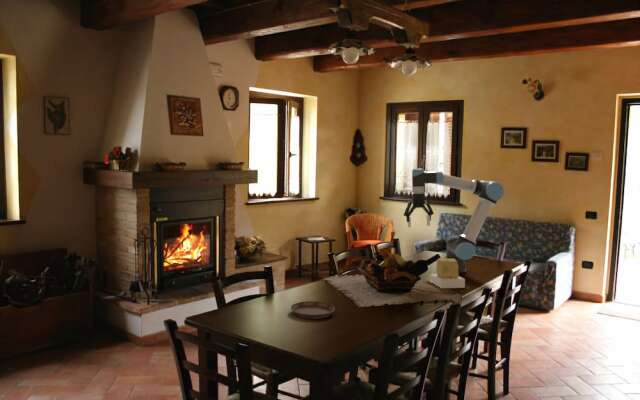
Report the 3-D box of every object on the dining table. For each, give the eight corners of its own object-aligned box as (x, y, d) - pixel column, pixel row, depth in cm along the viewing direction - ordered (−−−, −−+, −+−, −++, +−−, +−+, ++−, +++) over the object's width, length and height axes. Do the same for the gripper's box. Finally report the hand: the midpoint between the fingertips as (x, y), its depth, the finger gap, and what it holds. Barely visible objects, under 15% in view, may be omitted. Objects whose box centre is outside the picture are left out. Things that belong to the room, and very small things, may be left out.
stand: (452, 281, 325) (453, 273, 324) (464, 287, 310) (465, 279, 310) (429, 282, 321) (430, 274, 321) (440, 288, 307) (441, 279, 306)
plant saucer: (319, 323, 236) (319, 316, 236) (281, 315, 247) (282, 308, 247) (342, 312, 254) (342, 306, 254) (306, 305, 265) (306, 298, 264)
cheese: (458, 278, 311) (459, 261, 310) (440, 278, 310) (441, 261, 309) (453, 274, 321) (454, 258, 320) (435, 274, 321) (436, 257, 320)
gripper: (432, 191, 345) (433, 224, 347) (397, 193, 338) (398, 226, 339) (438, 192, 338) (439, 225, 340) (403, 194, 331) (403, 228, 332)
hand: (418, 226), depth 339 cm, fingers open, 13 cm apart
